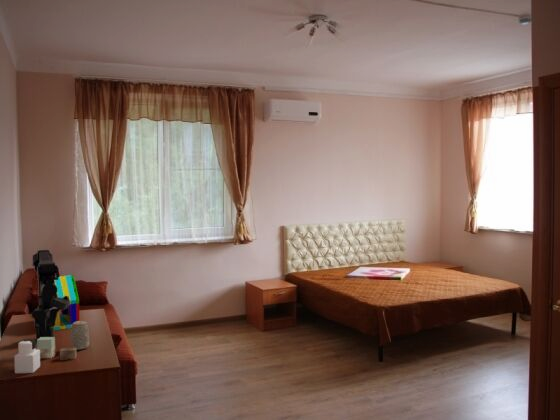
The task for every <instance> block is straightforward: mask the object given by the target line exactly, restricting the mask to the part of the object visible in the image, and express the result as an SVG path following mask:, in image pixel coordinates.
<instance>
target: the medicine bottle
mask: <svg viewBox="0 0 560 420" xmlns="http://www.w3.org/2000/svg"><path fill="white" fill-rule="evenodd" d="M17 348H18V352H17V354H15V355H14V358H13V360H14V363H13V364H14V374H34V373H35V372H36V371H37V370H38V369H39V368H40V367H41V358H40V350H37V344H36V341H35V339H33V338H26V339H22V340H20V341H19V342H18V347H17Z"/></svg>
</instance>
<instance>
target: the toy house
mask: <svg viewBox="0 0 560 420" xmlns="http://www.w3.org/2000/svg"><path fill="white" fill-rule="evenodd" d="M54 281H55V285H56V287H57V294H58V297H59V298H61V297H62V298H63V297H64V296H68V297H69V300H70V304H68V307H67V308H66V309H65V310H60V311H61V312H60V311H58V314H57V317H56V321H55V325H54V326H52V328H53V332H55V331H60V330H66V329H72V324H73V323H74V322H76V321H81V318H80V298H79V294H78V288H77V284H76V280H75V277H74V274H72V275H71V274H70V275H62V276H60V275H59V277H58V280H54Z"/></svg>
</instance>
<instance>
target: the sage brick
mask: <svg viewBox="0 0 560 420" xmlns="http://www.w3.org/2000/svg"><path fill="white" fill-rule="evenodd" d="M53 347H55V348H56V337H55V336H54V337H40V338H39V339H37V341H36V350H37V349H52V348H53Z"/></svg>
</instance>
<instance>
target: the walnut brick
mask: <svg viewBox="0 0 560 420" xmlns="http://www.w3.org/2000/svg"><path fill="white" fill-rule="evenodd" d="M77 352H78V350H76V347H74V348H73V347H63V348H60V350H59V361H69V360H68V359H70V360H76V358H77V354H78V353H77Z"/></svg>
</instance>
